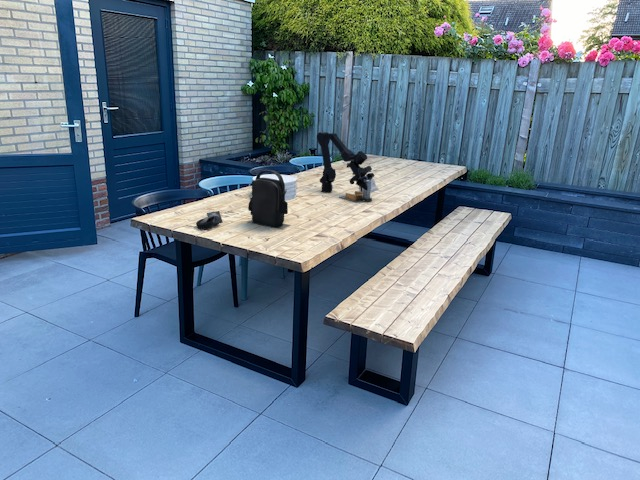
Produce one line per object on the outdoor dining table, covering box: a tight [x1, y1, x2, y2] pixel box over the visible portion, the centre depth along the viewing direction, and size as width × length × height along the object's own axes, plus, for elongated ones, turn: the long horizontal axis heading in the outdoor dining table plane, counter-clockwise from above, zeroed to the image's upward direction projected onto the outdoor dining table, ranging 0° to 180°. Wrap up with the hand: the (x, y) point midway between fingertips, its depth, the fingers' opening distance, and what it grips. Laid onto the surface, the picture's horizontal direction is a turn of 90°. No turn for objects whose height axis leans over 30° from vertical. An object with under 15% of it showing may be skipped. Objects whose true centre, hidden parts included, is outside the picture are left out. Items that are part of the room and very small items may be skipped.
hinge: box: [358, 177, 379, 193], centre depth 331 cm, size 17×5×10 cm, turn 143°
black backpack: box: [246, 169, 292, 230], centre depth 245 cm, size 23×9×28 cm, turn 60°
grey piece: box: [360, 179, 373, 202], centre depth 301 cm, size 5×5×13 cm
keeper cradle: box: [338, 190, 363, 202], centre depth 310 cm, size 13×14×4 cm
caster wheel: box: [195, 210, 224, 230], centre depth 239 cm, size 7×11×10 cm
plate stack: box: [252, 173, 298, 202], centre depth 307 cm, size 28×28×12 cm
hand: (368, 189), depth 300 cm, fingers closed on grey piece, 3 cm apart
